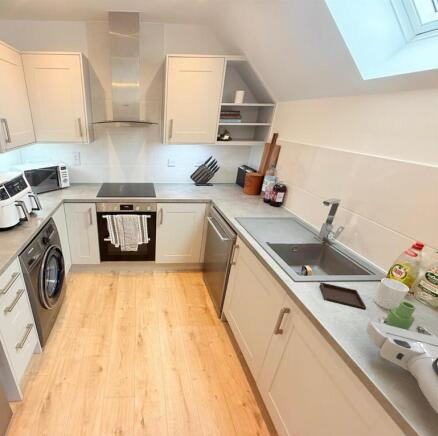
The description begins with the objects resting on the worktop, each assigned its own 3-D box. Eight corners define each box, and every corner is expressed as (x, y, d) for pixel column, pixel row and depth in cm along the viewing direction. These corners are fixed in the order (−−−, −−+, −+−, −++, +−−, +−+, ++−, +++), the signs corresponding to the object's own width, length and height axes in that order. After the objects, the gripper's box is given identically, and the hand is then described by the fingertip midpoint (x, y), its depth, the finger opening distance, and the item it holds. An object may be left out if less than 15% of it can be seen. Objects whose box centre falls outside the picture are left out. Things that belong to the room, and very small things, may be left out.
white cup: (367, 297, 100) (376, 277, 96) (386, 297, 100) (396, 278, 96) (383, 311, 93) (393, 291, 89) (403, 311, 93) (415, 291, 89)
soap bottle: (392, 339, 81) (414, 301, 74) (399, 352, 77) (424, 313, 70) (373, 334, 83) (393, 297, 76) (379, 346, 79) (401, 308, 72)
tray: (354, 294, 102) (356, 290, 101) (364, 312, 93) (366, 307, 92) (319, 286, 107) (320, 282, 106) (325, 302, 97) (326, 298, 96)
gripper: (488, 368, 59) (450, 326, 70) (383, 339, 66) (364, 306, 78) (474, 384, 61) (439, 341, 73) (374, 355, 69) (357, 320, 80)
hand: (400, 323), depth 75 cm, fingers open, 8 cm apart
